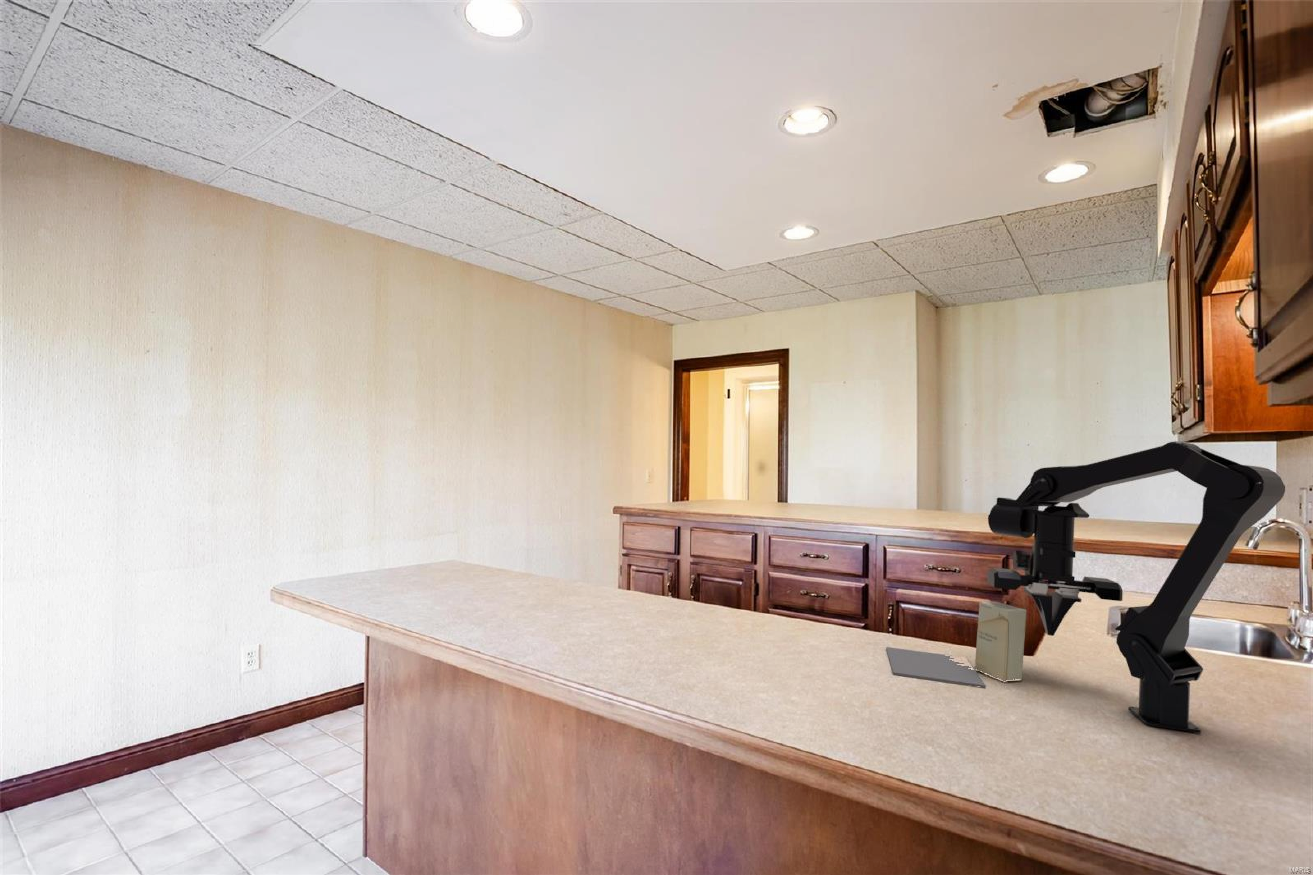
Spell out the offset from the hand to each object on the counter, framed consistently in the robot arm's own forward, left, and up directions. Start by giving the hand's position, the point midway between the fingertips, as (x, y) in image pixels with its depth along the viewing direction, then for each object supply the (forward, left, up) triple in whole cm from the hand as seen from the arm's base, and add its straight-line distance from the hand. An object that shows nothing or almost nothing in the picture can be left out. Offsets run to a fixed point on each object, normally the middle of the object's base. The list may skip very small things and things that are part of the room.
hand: (1049, 635), depth 107 cm
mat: (0, +18, -8) cm, 20 cm away
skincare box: (0, +8, -8) cm, 11 cm away
